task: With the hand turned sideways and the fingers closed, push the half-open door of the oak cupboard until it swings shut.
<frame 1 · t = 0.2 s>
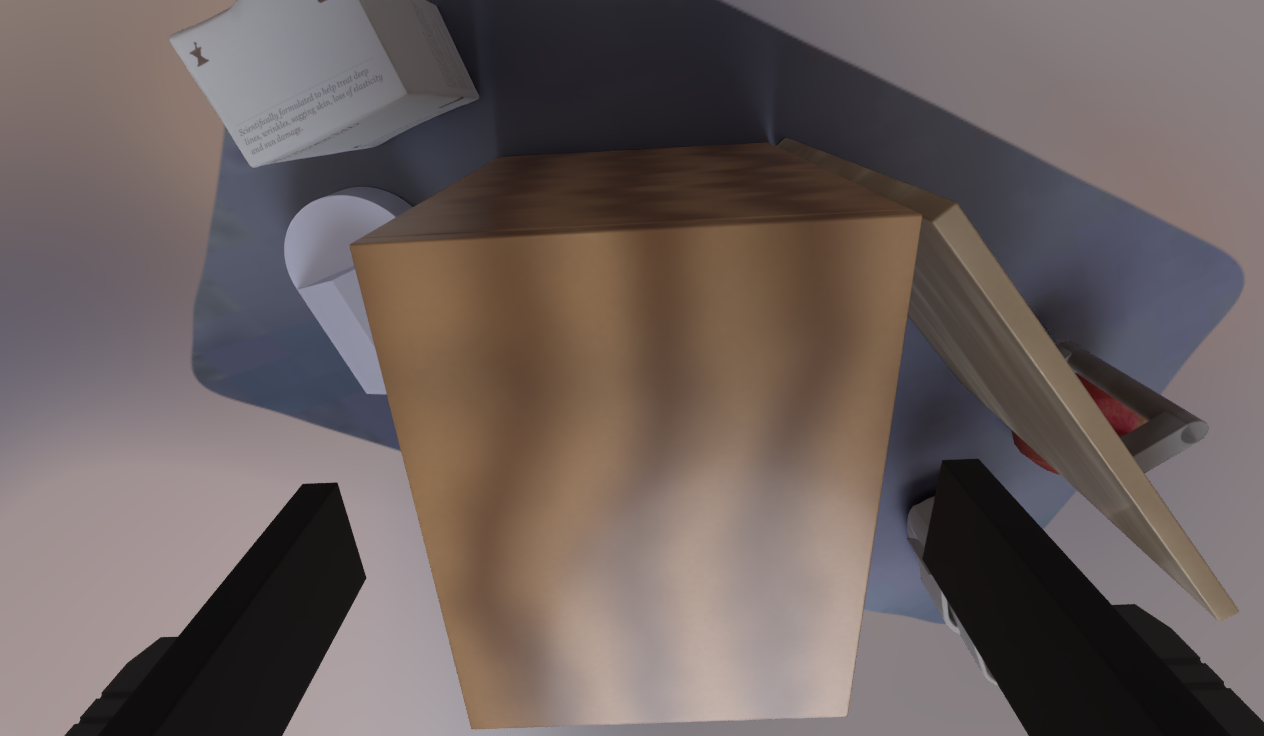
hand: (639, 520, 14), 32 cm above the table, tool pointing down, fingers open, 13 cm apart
cupboard door: (1002, 299, 32), point 12 cm above the table, hinge at 40.0°
cupboard: (640, 317, 45), on the table
cosmetic box: (407, 74, 39), on the table
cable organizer: (936, 516, 54), on the table
fruit: (1037, 392, 48), on the table
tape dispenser: (390, 276, 44), on the table
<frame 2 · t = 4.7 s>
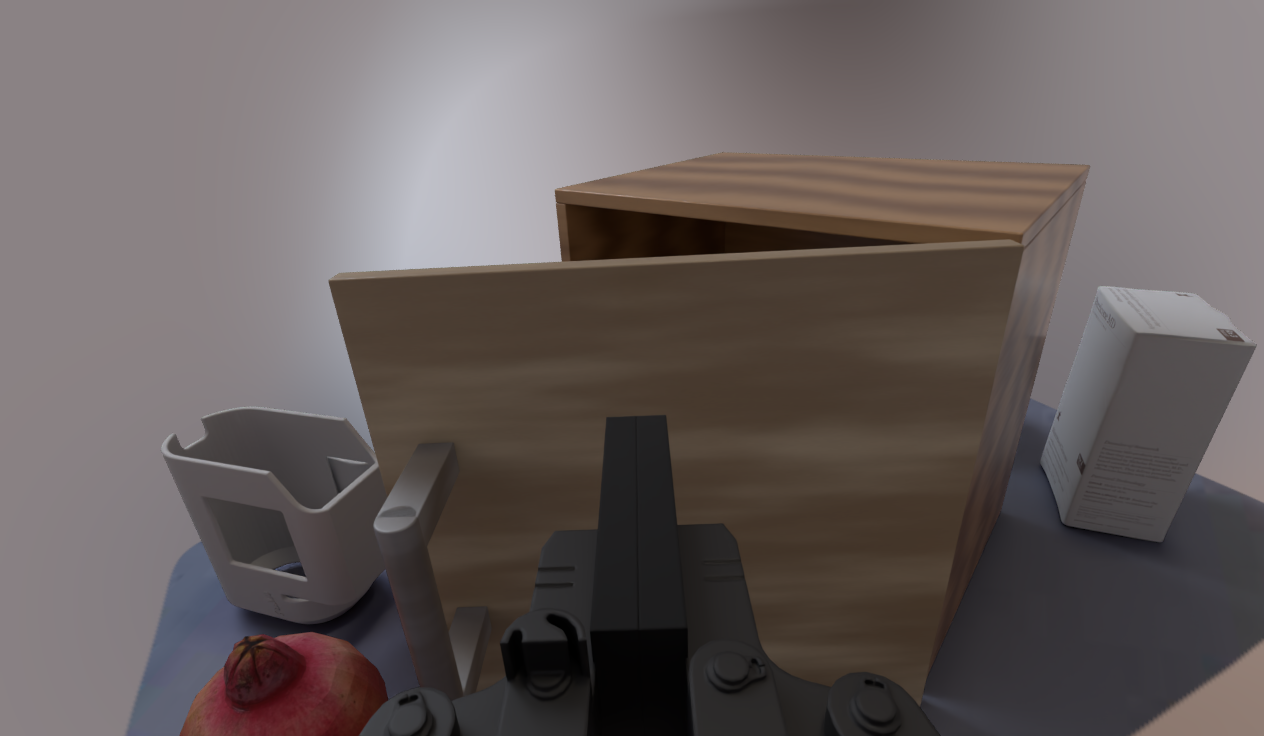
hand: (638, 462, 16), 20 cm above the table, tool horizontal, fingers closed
cupboard door: (682, 571, 24), point 12 cm above the table, hinge at 40.0°
cupboard: (789, 513, 44), on the table
cosmetic box: (1097, 504, 44), on the table
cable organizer: (324, 598, 39), on the table
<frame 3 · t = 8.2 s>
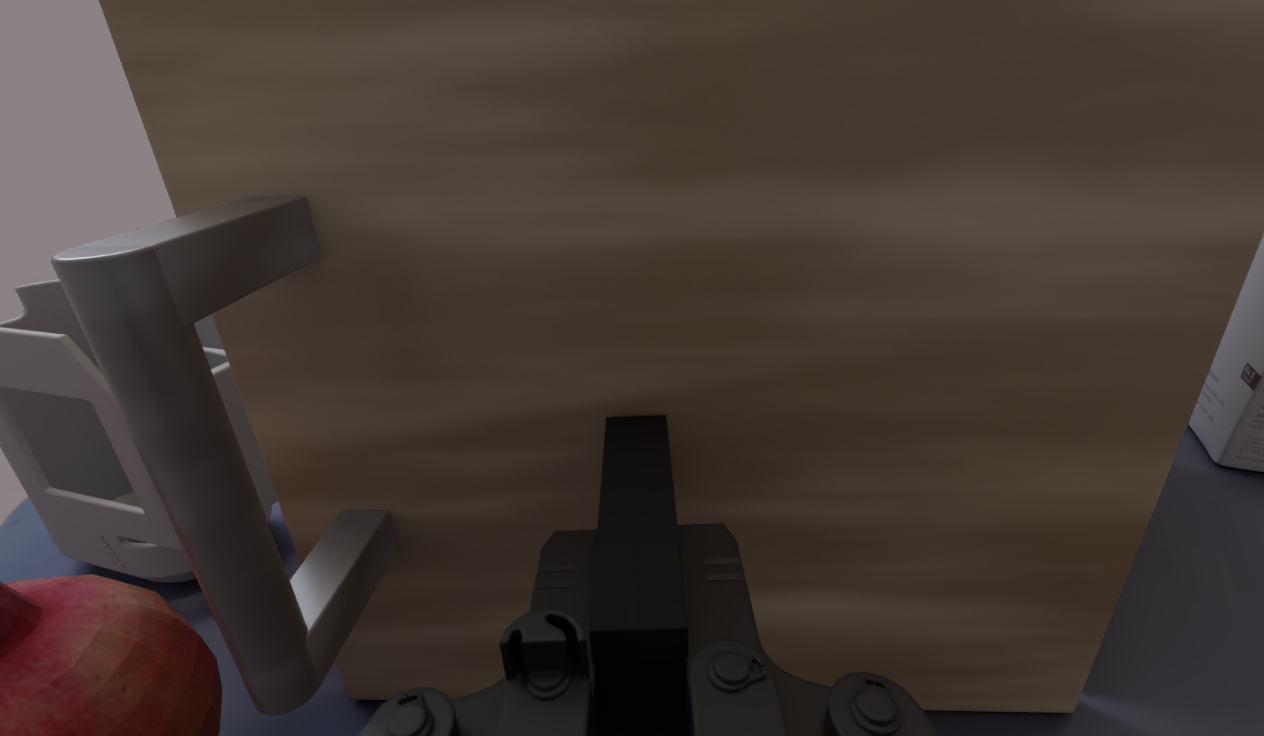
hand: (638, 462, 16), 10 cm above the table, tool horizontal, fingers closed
cupboard door: (702, 437, 13), point 12 cm above the table, hinge at 37.4°, touching gripper
cosmetic box: (1254, 442, 33), on the table
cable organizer: (200, 550, 29), on the table
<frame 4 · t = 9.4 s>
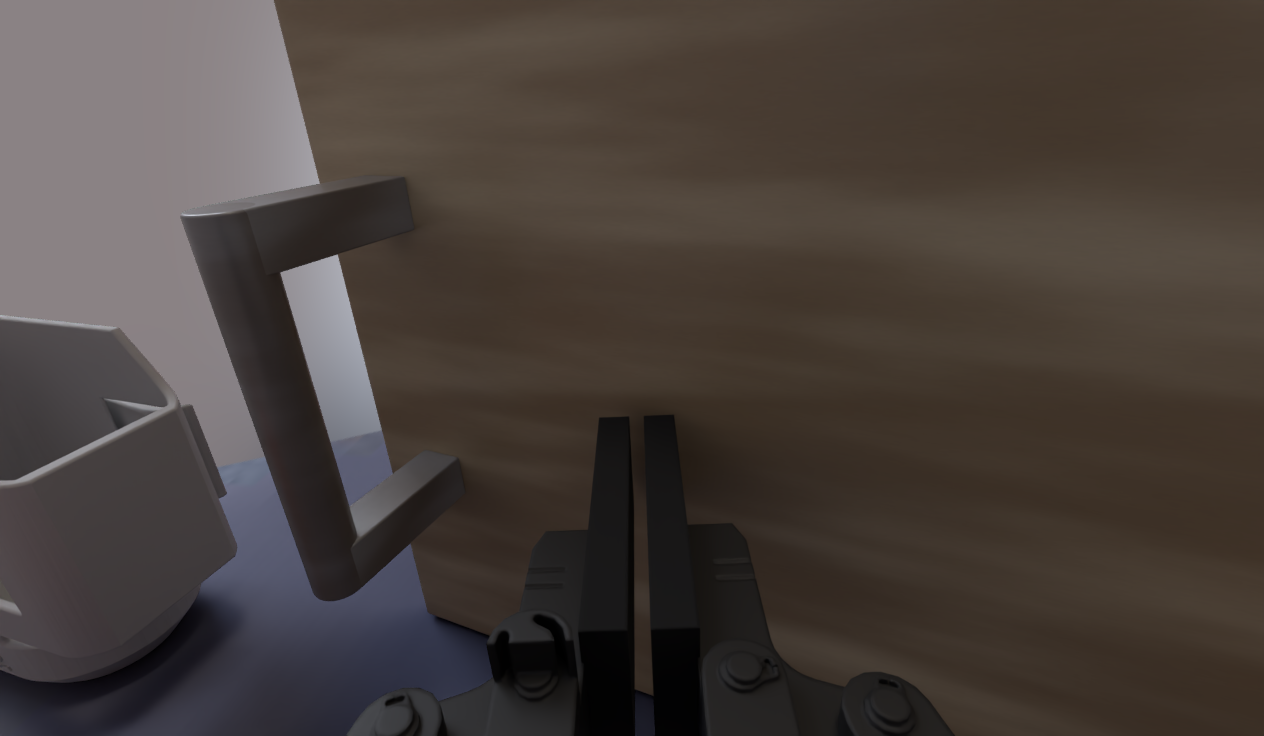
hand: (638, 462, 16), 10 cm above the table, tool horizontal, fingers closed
cupboard door: (697, 445, 13), point 12 cm above the table, hinge at 16.3°, touching gripper
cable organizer: (114, 635, 24), on the table
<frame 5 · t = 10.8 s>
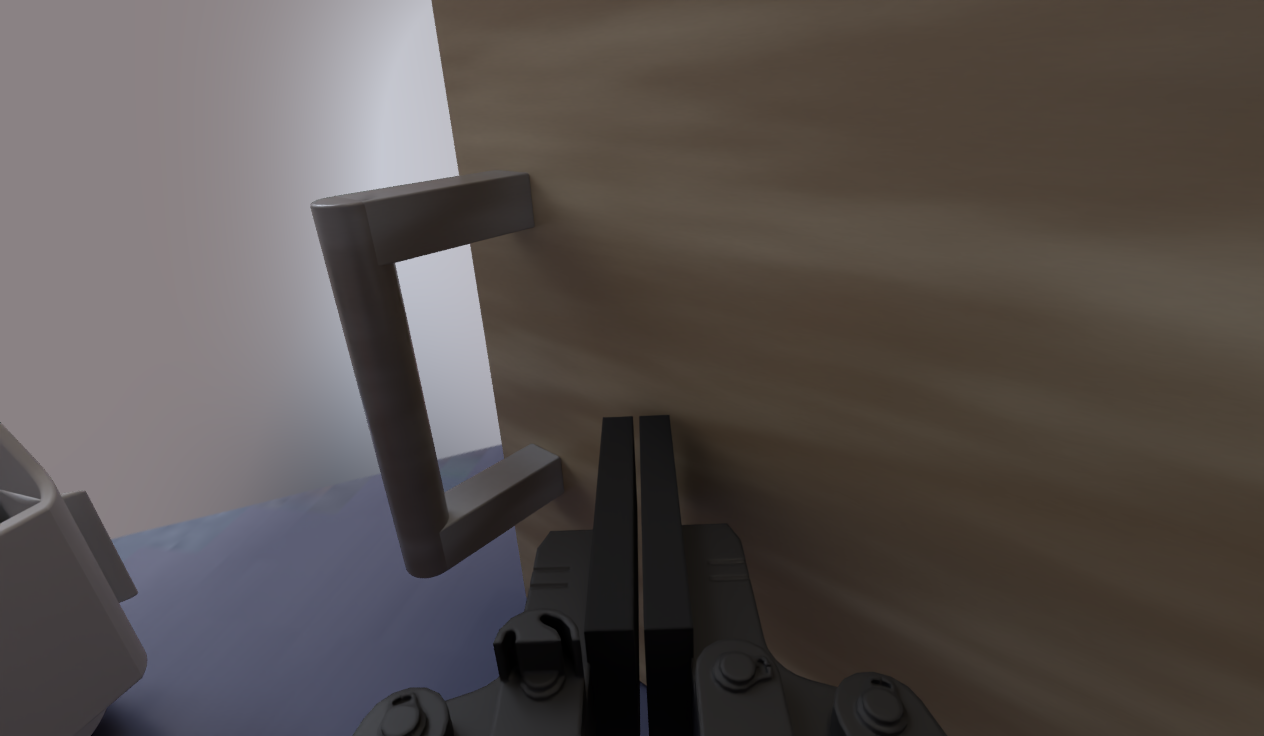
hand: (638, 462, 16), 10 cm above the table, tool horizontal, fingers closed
cupboard door: (781, 502, 11), point 12 cm above the table, hinge at -0.3°, touching gripper
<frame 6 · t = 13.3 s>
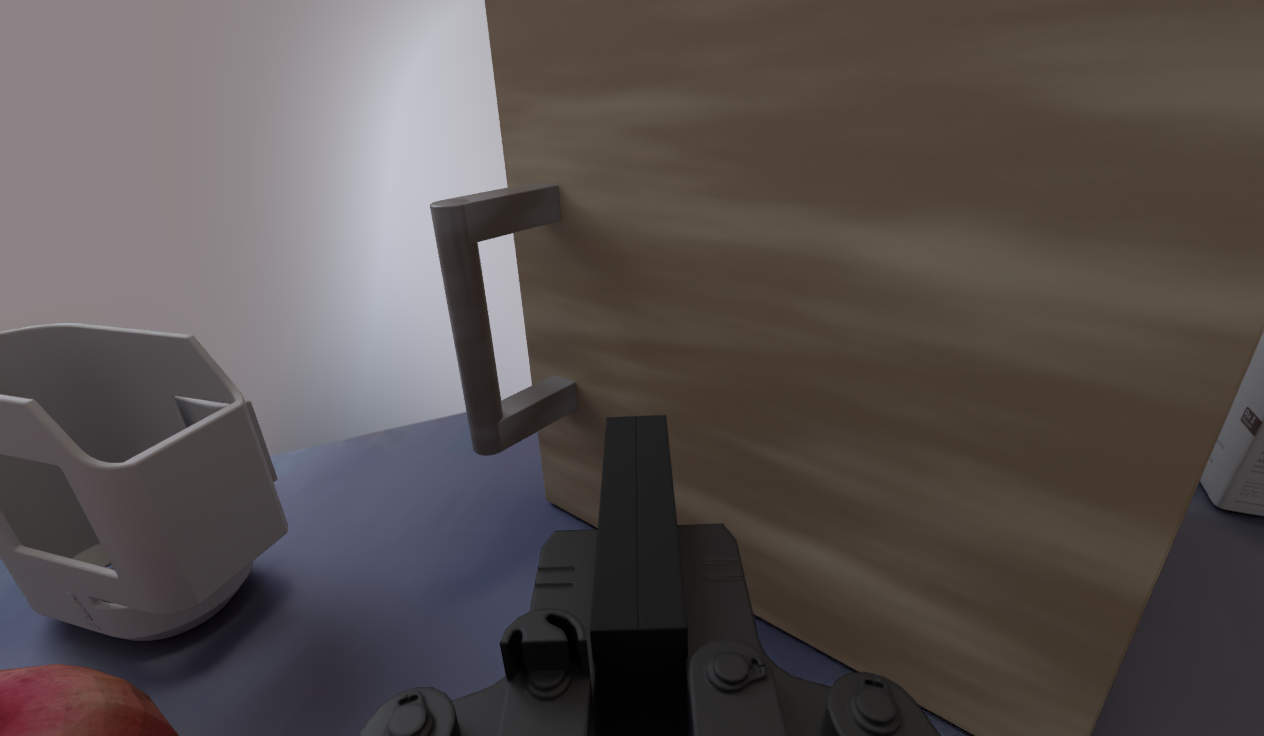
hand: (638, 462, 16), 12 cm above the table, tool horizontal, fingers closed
cupboard door: (711, 375, 19), point 12 cm above the table, hinge at -0.2°
cosmetic box: (1253, 482, 32), on the table
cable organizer: (179, 603, 28), on the table
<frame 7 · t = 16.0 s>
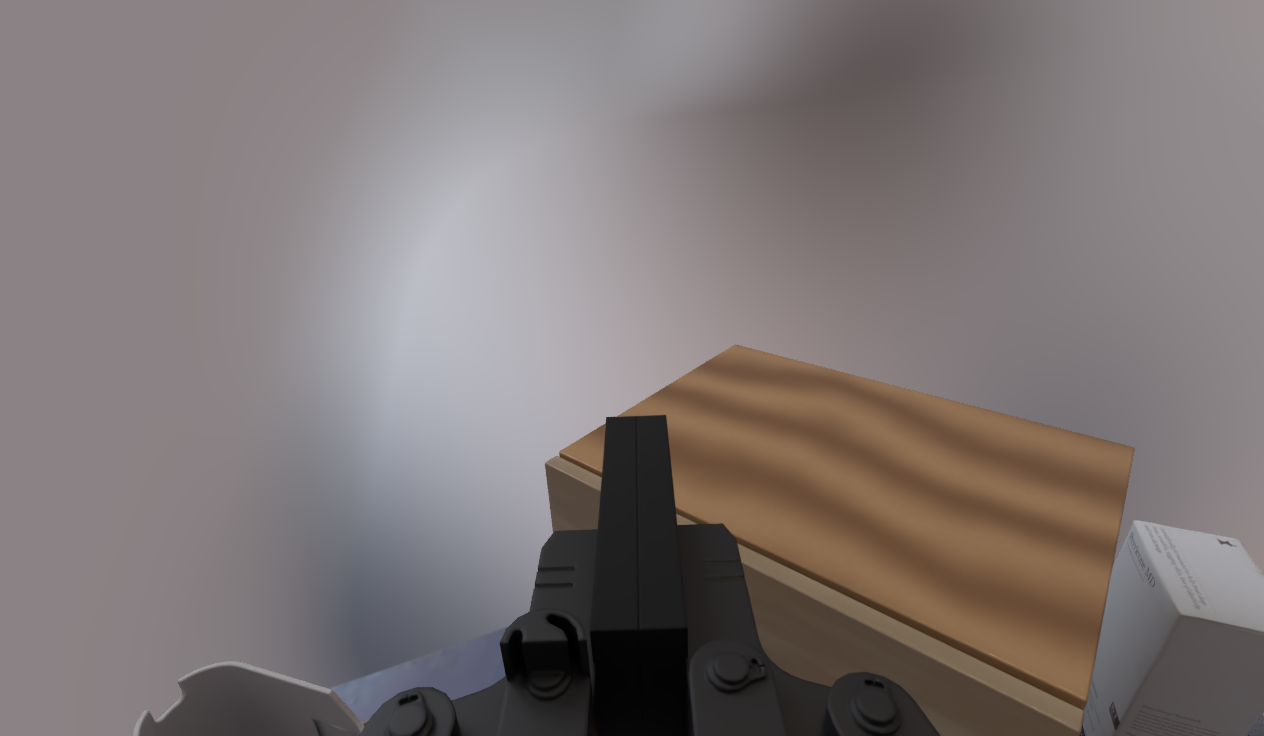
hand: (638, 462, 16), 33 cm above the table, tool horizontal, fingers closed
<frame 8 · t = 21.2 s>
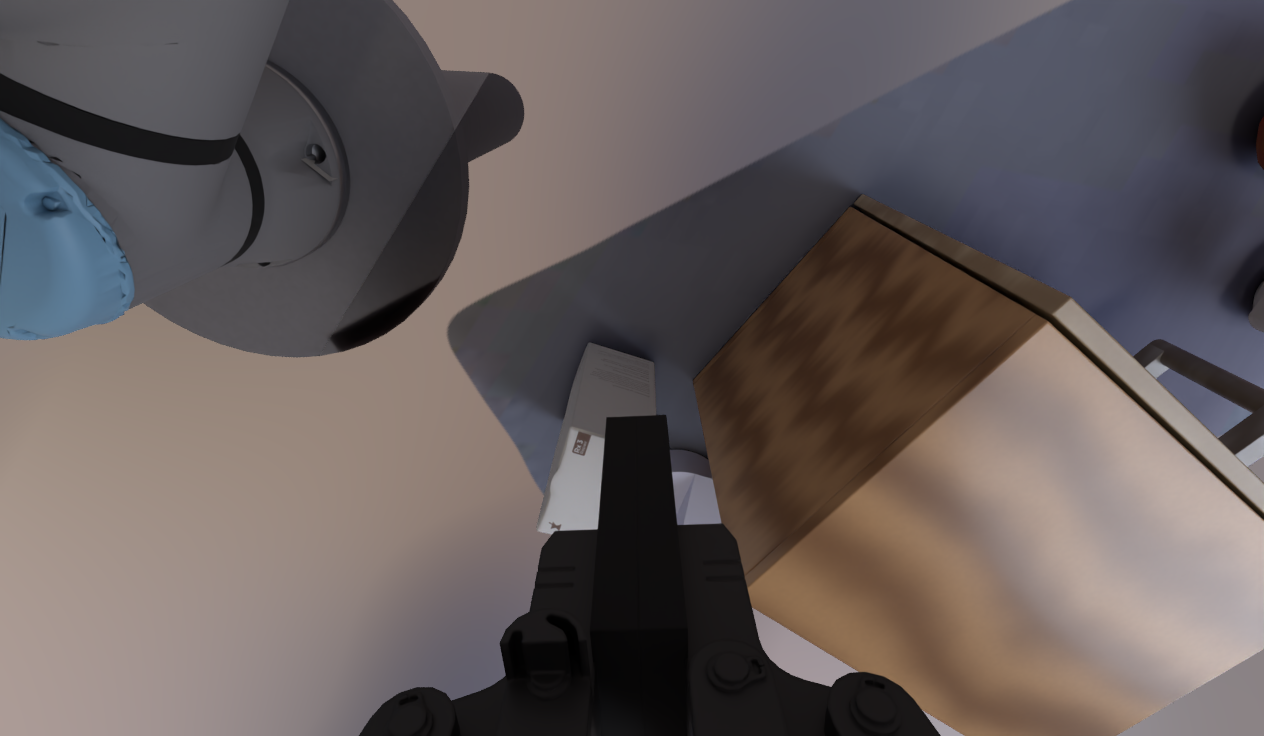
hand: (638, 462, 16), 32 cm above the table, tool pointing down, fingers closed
cupboard door: (1095, 322, 36), point 12 cm above the table, hinge at -0.2°
cupboard: (870, 380, 51), on the table
cosmetic box: (606, 388, 51), on the table
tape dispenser: (694, 495, 56), on the table
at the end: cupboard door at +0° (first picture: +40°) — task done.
